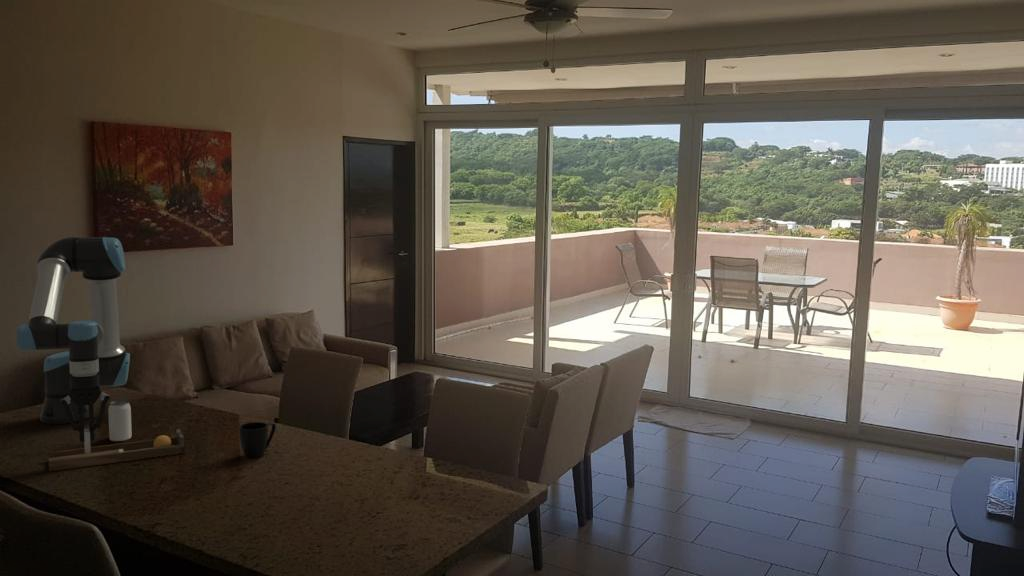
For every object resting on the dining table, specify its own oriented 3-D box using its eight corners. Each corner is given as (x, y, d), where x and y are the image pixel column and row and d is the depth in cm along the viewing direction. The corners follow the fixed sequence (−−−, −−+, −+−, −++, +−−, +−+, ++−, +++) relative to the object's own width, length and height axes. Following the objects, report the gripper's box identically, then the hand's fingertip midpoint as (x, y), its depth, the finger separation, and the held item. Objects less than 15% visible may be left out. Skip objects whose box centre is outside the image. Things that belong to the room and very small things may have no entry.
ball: (173, 443, 246) (157, 451, 244) (165, 430, 244) (149, 438, 242) (175, 448, 241) (159, 457, 239) (167, 435, 240) (151, 443, 238)
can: (125, 442, 251) (124, 405, 249) (105, 441, 251) (104, 405, 250) (135, 436, 257) (134, 400, 256) (115, 435, 257) (114, 399, 256)
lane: (48, 460, 232) (48, 444, 231) (179, 444, 250) (179, 428, 250) (48, 471, 223) (48, 454, 223) (184, 453, 242) (184, 437, 241)
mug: (283, 452, 245) (283, 422, 244) (251, 462, 235) (250, 431, 234) (267, 446, 250) (266, 417, 248) (234, 456, 240) (233, 426, 239)
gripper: (59, 378, 223) (62, 458, 226) (110, 374, 230) (113, 452, 233) (58, 373, 230) (62, 451, 232) (108, 369, 236) (111, 445, 239)
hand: (87, 451), depth 232 cm, fingers closed
